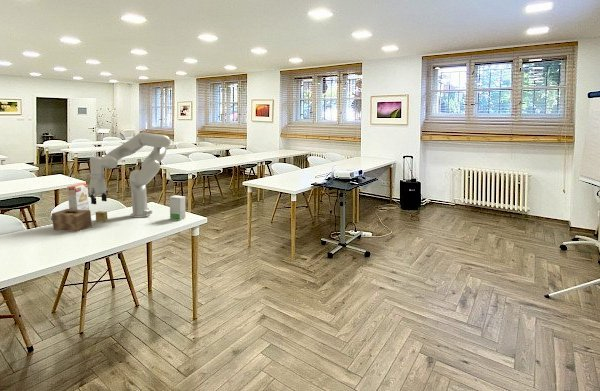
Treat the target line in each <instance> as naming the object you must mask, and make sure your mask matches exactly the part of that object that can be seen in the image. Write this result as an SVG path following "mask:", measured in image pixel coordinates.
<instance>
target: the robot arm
mask: <svg viewBox="0 0 600 391" xmlns="http://www.w3.org/2000/svg"><path fill="white" fill-rule="evenodd" d="M170 144H171V139H170V137H169V136H167V135H166V134H158V133H151V132H144V131H143V132H142V131H141V132H139V133H137V134H136V135H134V136H133V137H131V138H130V139H128V140H127V141H126V142H124V143H123V144H121V145H120V146H117V147H116V148H114V149H112V150H111V151H109V152H108V153H106V154H105V155H104V156H91V157H90V158H89V167H90V180H89V190H88V197H89V199H90V204H91V205H97V198H96V197H97V195H101V201H102V202H107V198H108V197H107V195H108V191H109V188H108V187H107V184H106V178H105V169H114V168H116V167H117V166H118V165H119V164H118V162H119V161H120V160H121V159H123V158H124V157H125V158H126V157H128V156H129V157H130V156H133V155H134V154H136V153H137V152H138V151H139V150H142V148H143V147H145V146H147V147H152V148H153V150H152V151H151V152H150V153H149V154H148V155H147V156H146V158H144V159H143V161H142V162H141V169H134V170H132V171H131V172H130V174H129V184H130V190H131V194H130V195H131V208H132V209H131V210H132V212H131V213H130V217H131V218H147V217H149V216H151V215H152V214H153V210H150V208H148V198H147V197H148V195H147V185H148V184H149V183H150V182H151V181H152V180H153V178H154V177H155V176H156V175H157V174H158V173H159V171H160V170H161V164H160V163H161V162H162V160H163V159H164V157H165V156H166V153H167V148H168V147H169V146H170Z"/></svg>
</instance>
